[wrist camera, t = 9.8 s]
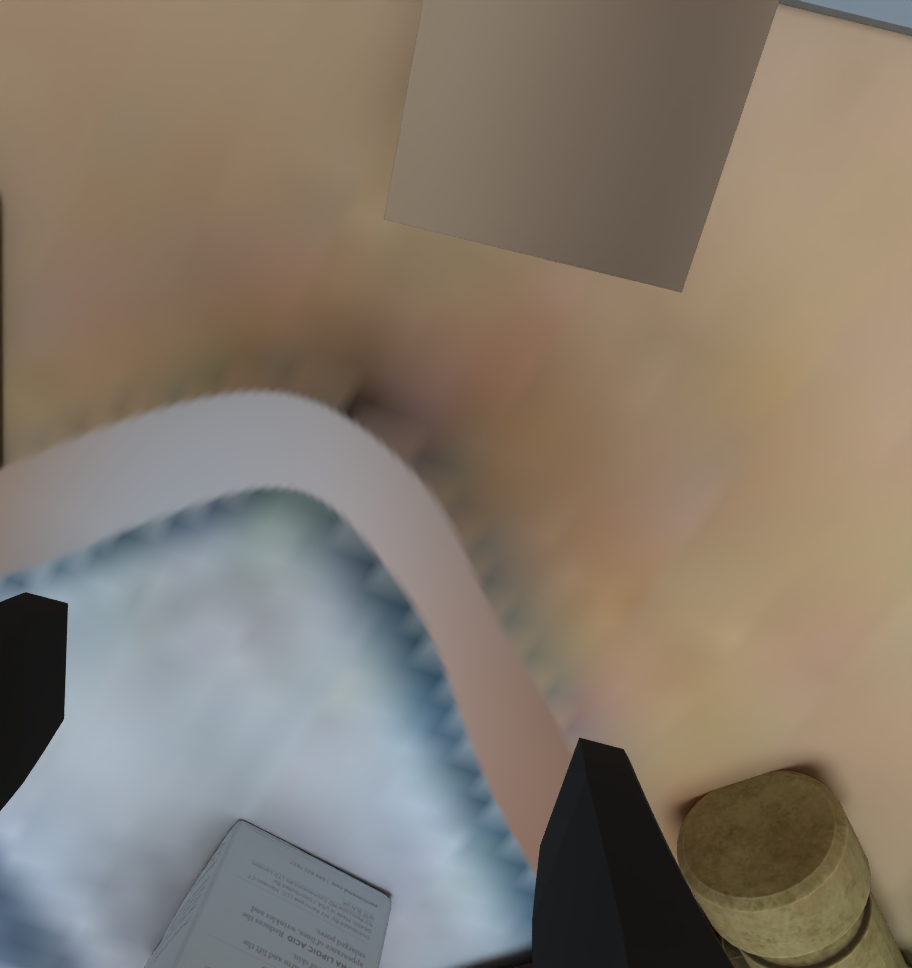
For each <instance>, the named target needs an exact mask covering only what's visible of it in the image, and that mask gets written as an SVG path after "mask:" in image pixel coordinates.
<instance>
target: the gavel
mask: <svg viewBox="0 0 912 968" xmlns="http://www.w3.org/2000/svg"><path fill="white" fill-rule="evenodd" d="M677 858H678V862H679V867H680V870H681V872H682V874H683V876H684V878H685V880H686V882H687V884H688V885H689V887H690V889H691V890H692V892H693V894H694V895H695V897H696V899H697V901H698V902H699V904H700V906H701V907H702V909H703V911H704V912H705V914H706V916H707V918H708V919H709V921H710V923H711V924H712V925H713V927H714V928H715V929H716V930H717V932H718V933H719V934H720V935H721V936H719V934H718V933H717V932H714V934H715V935H716V937H717V939H718V941H719V942H720V944H721V946H722V947H723V949H724V951H725V953H726V954H727V956H728V958H729V960H730V961H731V963H732V964H733V966H734V968H910V967H909V966H907V964H906V962H905V960H904V958H903V956H902V954H901V952H900V950H899V948H898V946H897V944H896V942H895V940H894V938H893V936H892V934H891V932H890V930H889V928H888V926H887V924H886V922H885V920H884V918H883V916H882V914H881V912H880V910H879V908H878V906H877V904H876V902H875V900H874V898H873V896H872V894H871V892H870V880H871V873H870V868H869V864H868V859H867V857H866V855H865V853H864V851H863V849H862V847H861V845H860V843H859V841H858V838H857V836H856V834H855V832H854V830H853V828H852V826H851V824H850V822H849V820H848V818H847V816H846V814H845V812H844V810H843V808H842V806H841V804H840V802H839V800H838V799H837V798H836V796H835V795H834V794H833V793H832V791H831V790H830V789H829V788H827V787H826V786H825V785H823V784H822V783H821V782H820V781H818V780H816V779H814V778H812V777H810V776H808V775H806V774H802V773H798V772H795V771H791V770H790V771H771V772H768V773H765V774H762V775H759V776H756V777H753V778H750V779H747V780H744V781H741V782H738V783H735V784H731V785H728V786H725V787H722V788H719V789H716V790H713V791H711V792H709V793H708V794H706V795H705V796H704V797H702V798H701V799H700V800H699V801H698V802H697V803H696V804H695V805H694V806H693V808H692V809H691V810H690V812H689V813H688V815H687V816H686V818H685V820H684V822H683V824H682V827H681V829H680V833H679V837H678V841H677ZM511 968H532V963H530V964H525V965H520V966H516V967H511Z"/></svg>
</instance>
